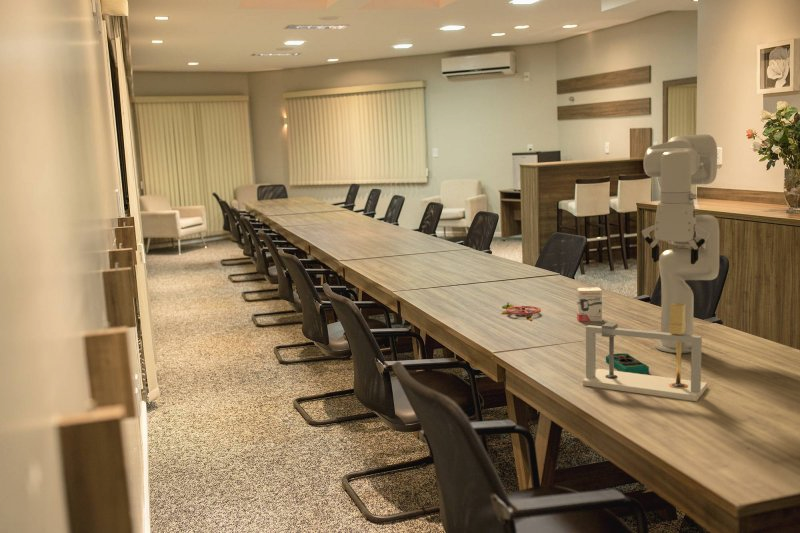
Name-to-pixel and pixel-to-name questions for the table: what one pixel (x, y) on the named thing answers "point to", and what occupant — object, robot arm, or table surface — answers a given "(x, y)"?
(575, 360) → the table surface
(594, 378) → the white rack frame
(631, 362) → the digital multimeter
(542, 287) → the table surface
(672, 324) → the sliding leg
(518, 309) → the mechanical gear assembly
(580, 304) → the ink box
